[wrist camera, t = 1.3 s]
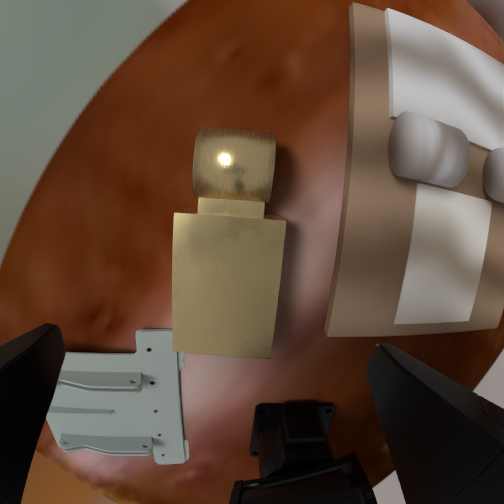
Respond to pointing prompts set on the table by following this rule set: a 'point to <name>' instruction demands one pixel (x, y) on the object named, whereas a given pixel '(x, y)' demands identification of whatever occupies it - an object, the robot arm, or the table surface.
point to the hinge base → (419, 183)
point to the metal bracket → (122, 401)
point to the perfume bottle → (228, 249)
